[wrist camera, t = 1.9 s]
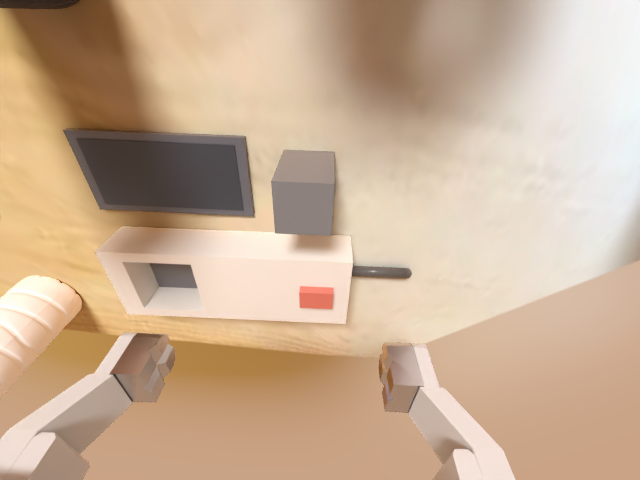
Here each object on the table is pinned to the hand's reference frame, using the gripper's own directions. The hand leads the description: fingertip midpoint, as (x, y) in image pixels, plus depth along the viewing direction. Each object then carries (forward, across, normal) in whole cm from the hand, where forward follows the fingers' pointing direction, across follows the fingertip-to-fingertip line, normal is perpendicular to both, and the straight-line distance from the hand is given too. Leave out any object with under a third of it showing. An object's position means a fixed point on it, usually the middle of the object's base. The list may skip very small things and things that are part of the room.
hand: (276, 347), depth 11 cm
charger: (+16, 0, 0) cm, 16 cm away
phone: (+17, +12, 0) cm, 21 cm away
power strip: (+16, +3, +10) cm, 19 cm away
